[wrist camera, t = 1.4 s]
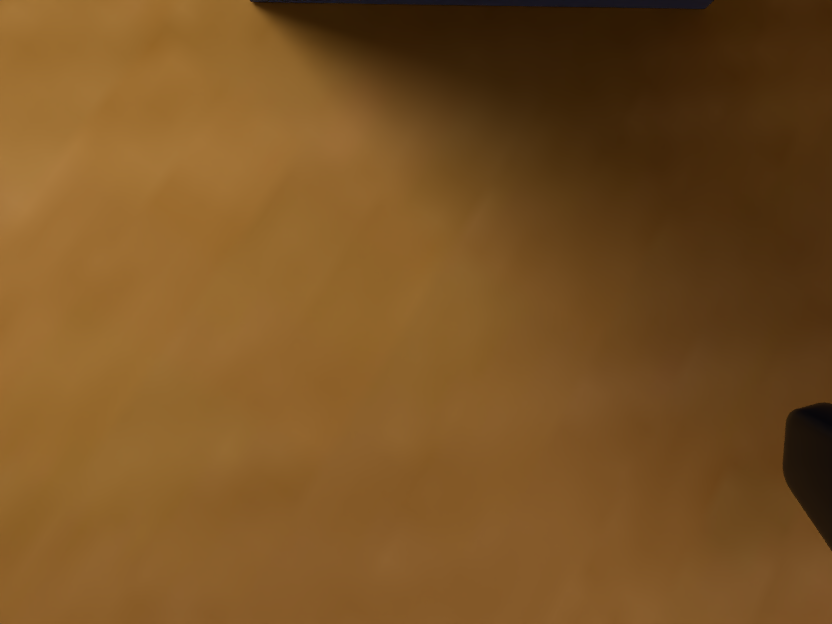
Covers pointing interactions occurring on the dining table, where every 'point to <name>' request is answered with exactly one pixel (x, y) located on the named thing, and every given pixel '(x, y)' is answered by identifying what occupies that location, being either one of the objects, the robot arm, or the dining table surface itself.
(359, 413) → the dining table surface
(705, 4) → the box
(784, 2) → the dining table surface
